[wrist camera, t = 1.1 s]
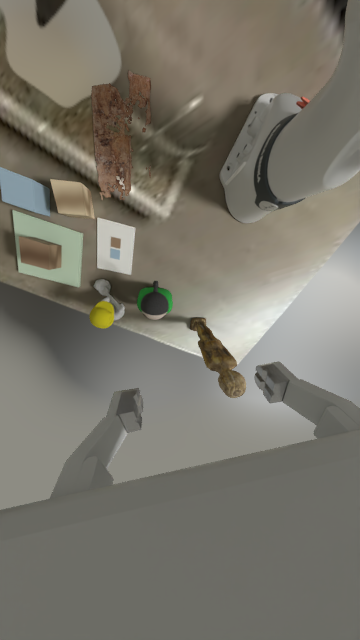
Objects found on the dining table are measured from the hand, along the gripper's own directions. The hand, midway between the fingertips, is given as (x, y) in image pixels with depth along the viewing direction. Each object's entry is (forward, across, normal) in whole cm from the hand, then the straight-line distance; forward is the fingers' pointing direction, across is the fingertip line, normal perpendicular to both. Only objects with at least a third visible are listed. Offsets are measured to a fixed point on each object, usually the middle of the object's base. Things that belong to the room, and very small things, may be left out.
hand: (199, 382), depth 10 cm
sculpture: (+39, -8, +17) cm, 44 cm away
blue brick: (+40, +27, -21) cm, 52 cm away
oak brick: (+40, +18, -19) cm, 48 cm away
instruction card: (+39, +13, -9) cm, 42 cm away
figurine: (+40, +17, +3) cm, 43 cm away
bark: (+40, +5, -28) cm, 49 cm away
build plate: (+39, +29, -10) cm, 50 cm away
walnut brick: (+38, +29, -10) cm, 49 cm away
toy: (+39, +4, +3) cm, 40 cm away
